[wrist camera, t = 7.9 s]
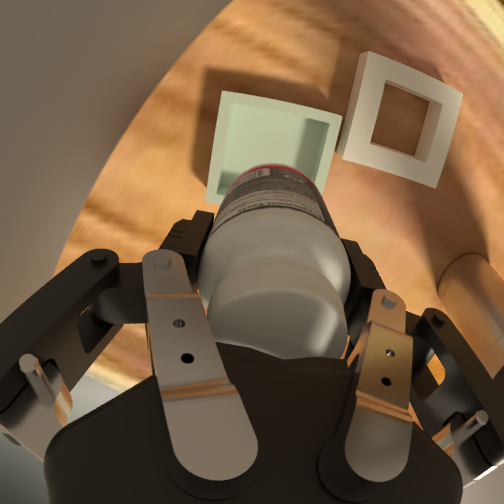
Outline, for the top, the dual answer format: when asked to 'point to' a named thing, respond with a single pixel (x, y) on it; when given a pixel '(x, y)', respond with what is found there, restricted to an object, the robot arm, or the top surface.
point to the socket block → (366, 110)
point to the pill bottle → (276, 267)
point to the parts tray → (269, 139)
